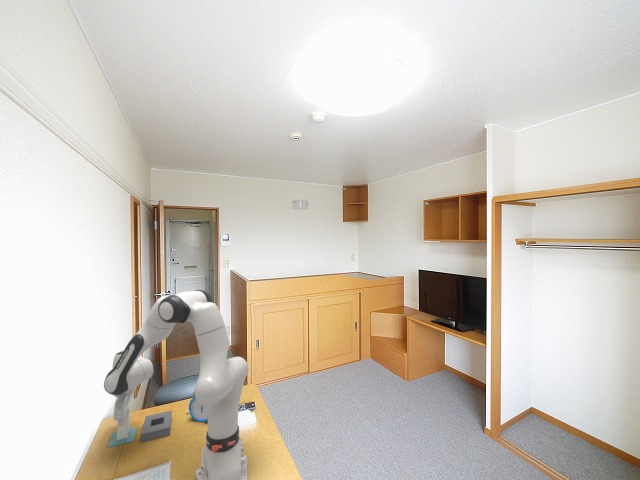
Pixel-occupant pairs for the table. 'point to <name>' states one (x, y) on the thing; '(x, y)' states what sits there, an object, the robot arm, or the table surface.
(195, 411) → the alarm clock
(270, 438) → the table surface
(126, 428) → the plug
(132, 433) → the mat
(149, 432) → the socket header
